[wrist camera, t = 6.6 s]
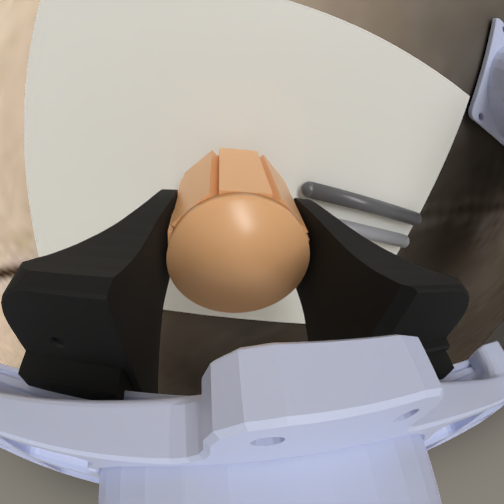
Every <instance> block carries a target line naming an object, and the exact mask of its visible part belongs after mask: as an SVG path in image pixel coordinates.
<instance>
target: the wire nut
mask: <svg viewBox="0 0 504 504" xmlns="http://www.w3.org/2000/svg"><path fill="white" fill-rule="evenodd" d="M307 233H308V230H307V228H306V226H305V224H304V222H303V219H302V217H301V215H300V213H299V211H298V209H297V206H296V204H295V202H294V200H293V198H292V196H291V194H290V192H289V189H288V187H287V185H286V183H285V181H284V180H283V178H282V177H281V176H280V174H279V173H278V172H277V171H276V169H275V168H274V167H273V166H272V164H271V163H270V162H269V161H268V159H267V158H266V157H265V156H264V155H262V156H260V157H259V155H258V153H257V151H252V150H241V149H229V148H219V157H218V156H217V155H216V154H215V152H214V151H213V150H212V151H210V152H209V153H208V154H207V155H206V156H204V157H203V158H202V159H201V160H199V161H198V162H197V163H196V164H195V165H193V166H192V167H191V168H190V169H189V170H188V171H186V172H185V174H184V177H183V179H182V180H181V183H180V187H179V190H178V197H177V201H176V205H175V209H174V211H173V214H172V216H171V220H170V224H169V228H168V249H167V256H166V263H167V269H168V273H169V276H170V278H171V280H172V282H173V283H174V285H175V286H176V288H177V289H178V290H179V291H180V292H181V293H182V294H183V295H184V296H185V297H186V298H188V299H189V300H191V301H192V302H194V303H196V304H198V305H200V306H202V307H204V308H207V309H210V310H214V311H219V312H226V313H243V312H251V311H256V310H259V309H263V308H266V307H268V306H271V305H273V304H275V303H277V302H279V301H280V300H282V299H283V298H285V297H286V296H287V295H289V294H290V293H291V292H292V291H293V290H294V289H295V288H296V287H297V286H298V285H299V283H300V282H301V281H302V279H303V277H304V275H305V273H306V271H307V268H308V264H309V259H310V249H309V240H310V239H309V237H308V235H307Z"/></svg>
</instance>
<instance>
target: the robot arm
mask: <svg viewBox="0 0 504 504" xmlns="http://www.w3.org/2000/svg"><path fill="white" fill-rule="evenodd" d="M468 114H469V117H470V118H471V119H472V120H473V121H475V122H476V123H477V124H478V125H480V126H481V127H482V128H483V129H485V130H486V131H487V132H488V133H489V134H491V135H492V136H493V137H494V138H495V139H496V140H497V141H498V142H500V143H501V144H502V145H503V146H504V23H503V22H502V21H501V20H500V19H498V18H494V19H493V20H492V25H491V30H490V35H489V40H488V44H487V48H486V52H485V56H484V60H483V64H482V68H481V71H480V75H479V78H478V81H477V85H476V88H475V91H474V94H473V97H472V100H471V103H470V106H469V109H468ZM479 114H480V116H479ZM177 197H178V190H172V189H162V190H160V191H159V192H157V193H156V194H155V195H154V196H152V197H151V198H150V199H149V200H147V201H146V202H145V203H144V204H142V205H141V206H140V207H139V208H137V209H136V210H135V211H133V212H132V213H130V214H129V215H128V216H126V217H125V218H123V219H122V220H121V221H119V222H118V223H116V224H114V225H113V226H111V227H109V228H108V229H106V230H104V231H102V232H101V233H99V234H97V235H95V236H92V237H90V238H88V239H86V240H84V241H82V242H80V243H78V244H76V245H73V246H71V247H68V248H66V249H63V250H60V251H58V252H55V253H52V254H49V255H45V256H42V257H39V258H35V259H32V260H28V261H24V262H22V264H21V265H20V267H19V268H18V270H17V272H16V273H15V275H14V276H13V278H12V280H11V281H10V283H9V285H8V286H7V288H6V290H5V292H4V293H3V295H2V301H1V304H2V309H3V313H4V316H5V318H6V320H7V322H8V324H9V325H10V327H11V329H12V330H13V332H14V333H15V335H16V336H17V338H18V339H19V341H20V342H21V344H22V345H23V347H24V348H25V350H26V352H25V355H24V358H23V361H22V363H21V366H20V369H17V368H14V367H11V366H7V365H4V364H1V363H0V447H1V448H3V449H5V450H7V451H9V452H11V453H13V454H15V455H18V456H20V457H22V458H25V459H27V460H29V461H32V462H34V463H37V464H39V465H42V466H44V467H47V468H50V469H53V470H55V471H58V472H61V473H64V474H67V475H71V476H74V477H77V478H81V479H85V480H88V481H92V482H95V483H99V504H442V502H441V498H440V494H439V490H438V487H437V483H436V479H435V476H434V473H433V469H432V466H431V463H430V459H429V456H428V453H427V450H429V449H431V448H433V447H436V446H438V445H440V444H442V443H443V442H445V441H447V440H449V439H451V438H453V437H455V436H457V435H459V434H461V433H463V432H464V431H466V430H468V429H470V428H472V427H473V426H475V425H477V424H478V423H480V422H482V421H483V420H485V419H486V418H488V417H489V416H490V415H491V414H493V413H494V412H496V411H497V410H498V409H499V408H501V407H502V406H503V405H504V351H503V349H502V348H501V346H500V344H499V342H498V341H494V342H491V343H488V344H485V345H483V346H481V347H480V348H478V349H477V350H476V351H475V352H474V353H473V354H472V355H471V357H470V358H469V360H466V361H463V362H460V363H456V364H452V362H451V360H450V358H449V356H448V354H447V352H446V351H445V350H447V349H448V348H449V345H450V344H449V343H448V341H447V339H446V337H447V336H448V335H449V333H450V332H451V331H452V330H453V328H454V327H455V326H456V324H457V323H458V322H459V321H460V319H461V318H462V316H463V315H464V313H465V311H466V309H467V306H468V303H469V294H468V292H467V290H466V289H465V287H464V286H463V285H462V283H461V282H460V281H459V280H458V279H457V278H454V277H451V276H448V275H445V274H442V273H439V272H436V271H432V270H430V269H427V268H425V267H422V266H420V265H417V264H415V263H412V262H410V261H408V260H406V259H403V258H401V257H399V256H397V255H395V254H393V253H391V252H389V251H387V250H385V249H384V248H382V247H380V246H378V245H377V244H375V243H373V242H371V241H370V240H368V239H367V238H365V237H363V236H362V235H360V234H359V233H357V232H356V231H354V230H353V229H351V228H350V227H349V226H347V225H346V224H344V223H343V222H342V221H340V220H339V219H337V218H336V217H335V216H333V215H332V214H331V213H329V212H328V211H327V210H325V209H324V208H322V207H321V206H320V205H318V204H317V203H315V202H313V201H311V200H309V199H301V198H294V202H295V204H296V206H297V209H298V211H299V213H300V215H301V217H302V219H303V222H304V224H305V226H306V228H307V230H308V233H307V235H308V237H309V239H310V240H309V249H310V259H309V264H308V268H307V271H306V273H305V275H304V277H303V279H302V281H301V282H300V283H299V285H298V286H297V287H296V290H297V293H298V296H299V299H300V302H301V305H302V309H303V313H304V318H305V324H306V329H307V335H308V342H282V343H267V344H261V345H255V346H248V347H241V348H238V349H236V350H234V351H232V352H230V353H228V354H226V355H224V356H222V357H220V358H218V359H216V360H214V361H213V362H211V363H210V365H209V367H208V368H207V370H206V372H205V373H204V375H203V377H202V394H201V395H193V396H183V395H166V394H158V364H159V346H160V332H161V322H162V312H163V306H164V300H165V296H166V292H167V288H168V283H169V279H170V276H169V273H168V269H167V263H166V256H167V249H168V228H169V224H170V220H171V216H172V214H173V211H174V209H175V205H176V201H177Z"/></svg>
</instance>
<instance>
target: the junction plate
mask: <svg viewBox="0 0 504 504" xmlns="http://www.w3.org/2000/svg"><path fill="white" fill-rule="evenodd" d="M469 98H470V96H469V95H467V94H466V93H465V92H464V91H462V90H461V89H460V88H458V87H457V86H456V85H455V84H453V83H452V82H451V81H449V80H448V79H446V78H445V77H444V76H442V75H441V74H439V73H438V72H437V71H435V70H434V69H432V68H431V67H429V66H428V65H426V64H425V63H423V62H421V61H420V60H418V59H417V58H415V57H413V56H412V55H410V54H409V53H407V52H405V51H403V50H402V49H400V48H398V47H396V46H395V45H393V44H391V43H389V42H387V41H386V40H384V39H382V38H380V37H378V36H376V35H374V34H372V33H370V32H368V31H366V30H364V29H362V28H359V27H357V26H355V25H353V24H351V23H348V22H346V21H344V20H341V19H339V18H337V17H334V16H332V15H329V14H326V13H324V12H321V11H318V10H316V9H313V8H310V7H307V6H304V5H301V4H298V3H295V2H292V1H288V0H40V4H39V7H38V11H37V16H36V20H35V24H34V29H33V34H32V40H31V46H30V52H29V59H28V67H27V76H26V87H25V103H24V152H25V169H26V180H27V190H28V198H29V206H30V213H31V219H32V225H33V230H34V236H35V241H36V246H37V250H38V255H39V257H42V256H45V255H49V254H52V253H55V252H58V251H60V250H63V249H66V248H68V247H71V246H73V245H76V244H78V243H80V242H82V241H84V240H86V239H88V238H90V237H92V236H95V235H97V234H99V233H101V232H102V231H104V230H106V229H108V228H109V227H111V226H113V225H114V224H116V223H118V222H119V221H121V220H122V219H123V218H125V217H126V216H128V215H129V214H130V213H132V212H133V211H135V210H136V209H137V208H139V207H140V206H141V205H142V204H144V203H145V202H146V201H147V200H149V199H150V198H151V197H152V196H154V195H155V194H156V193H157V192H159V191H160V190H162V189H172V190H179V187H180V183H181V180H182V179H183V177H184V174H185V172H186V171H188V170H189V169H190V168H191V167H192V166H193V165H195V164H196V163H197V162H198V161H199V160H201V159H202V158H203V157H204V156H206V155H207V154H208V153H209V152H210V151H212V150H213V151H214V152H215V154H216V155H217V156H218V157H219V148H229V149H241V150H252V151H257V153H258V155H259V157H260V156H262V155H264V156H265V157H266V158H267V159H268V161H269V162H270V163H271V164H272V166H273V167H274V168H275V169H276V171H277V172H278V173H279V174H280V176H281V177H282V178H283V180H284V181H285V183H286V185H287V187H288V189H289V192H290V194H291V196H292V198H293V200H294V198H301V199H309V200H311V201H313V202H315V203H317V204H318V205H320V206H321V207H322V208H324V209H325V210H327V211H328V212H329V213H331V214H332V215H333V216H335V217H336V218H337V219H339V220H340V221H342V222H343V223H344V224H346V225H347V226H349V227H350V228H351V229H353V230H354V231H356V232H357V233H359V234H360V235H362V236H363V237H365V238H367V239H368V240H370V241H371V242H373V243H375V244H377V245H378V246H380V247H382V248H384V249H385V250H387V251H389V252H391V253H393V254H395V255H397V253H398V251H399V249H400V248H401V247H402V248H404V247H407V246H408V245H409V237H408V234H409V232H410V230H411V228H412V227H413V225H414V226H417V225H419V224H420V223H421V221H422V217H421V215H420V212H421V210H422V208H423V206H424V204H425V202H426V200H427V198H428V196H429V194H430V192H431V190H432V188H433V186H434V184H435V182H436V179H437V177H438V175H439V173H440V171H441V169H442V166H443V164H444V162H445V160H446V157H447V155H448V153H449V150H450V148H451V146H452V143H453V141H454V138H455V136H456V133H457V131H458V128H459V126H460V123H461V120H462V118H463V115H464V112H465V109H466V107H467V104H468V101H469ZM163 310H170V311H178V312H186V313H193V314H202V315H210V316H219V317H229V318H239V319H250V320H261V321H274V322H287V323H303V324H305V318H304V313H303V309H302V305H301V302H300V299H299V296H298V293H297V290H296V288H295V289H294V290H293V291H292V292H291V293H290V294H289V295H287V296H286V297H285V298H283V299H282V300H280V301H279V302H277V303H275V304H273V305H271V306H268V307H266V308H263V309H259V310H256V311H251V312H243V313H226V312H219V311H214V310H210V309H207V308H204V307H202V306H200V305H198V304H196V303H194V302H192V301H191V300H189V299H188V298H186V297H185V296H184V295H183V294H182V293H181V292H180V291H179V290H178V289H177V288H176V286H175V285H174V283H173V282H172V280H171V278H170V279H169V283H168V288H167V292H166V296H165V300H164V306H163Z"/></svg>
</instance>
